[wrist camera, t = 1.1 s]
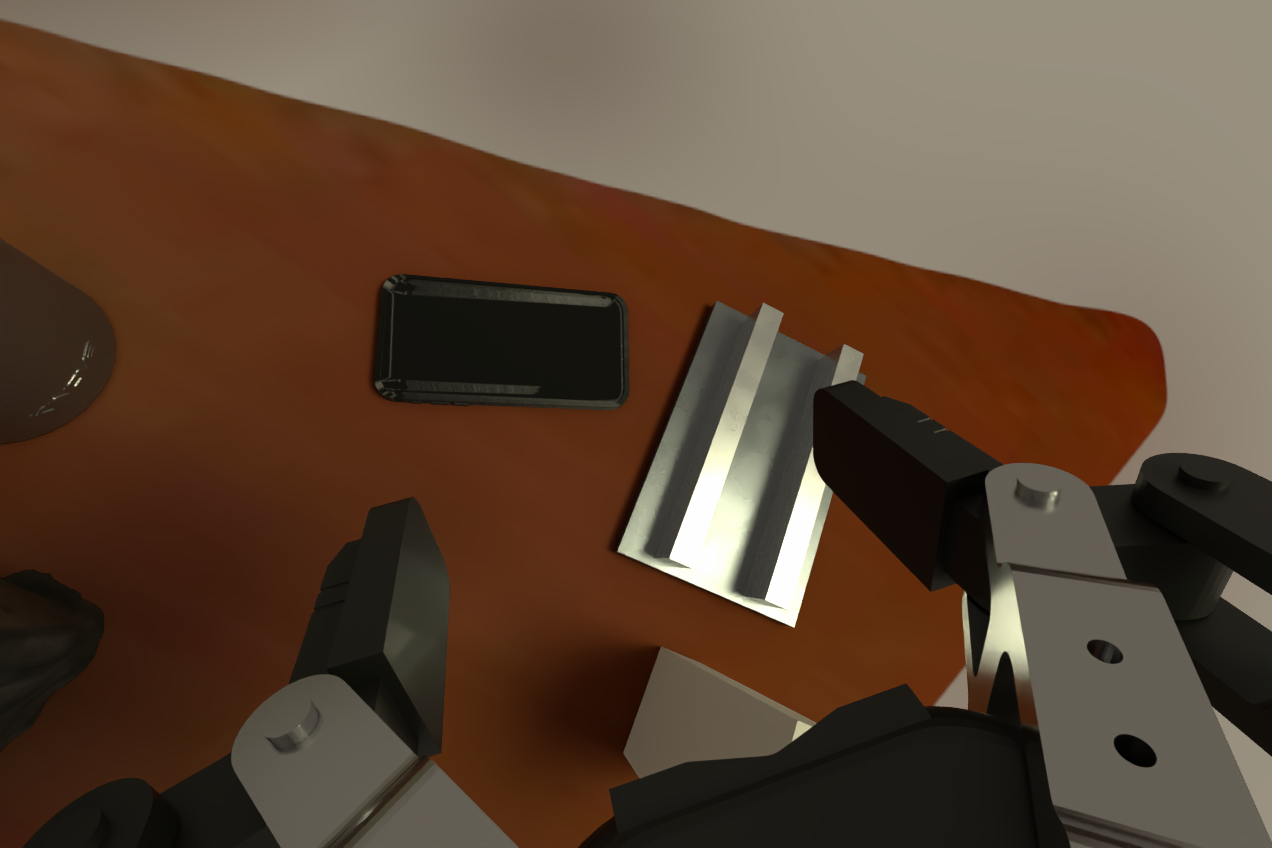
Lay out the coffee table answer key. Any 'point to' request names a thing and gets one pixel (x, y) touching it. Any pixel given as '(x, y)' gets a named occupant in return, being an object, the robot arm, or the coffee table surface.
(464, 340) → the phone
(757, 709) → the door leaf
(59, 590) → the owl
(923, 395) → the coffee table surface
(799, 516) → the floor track
